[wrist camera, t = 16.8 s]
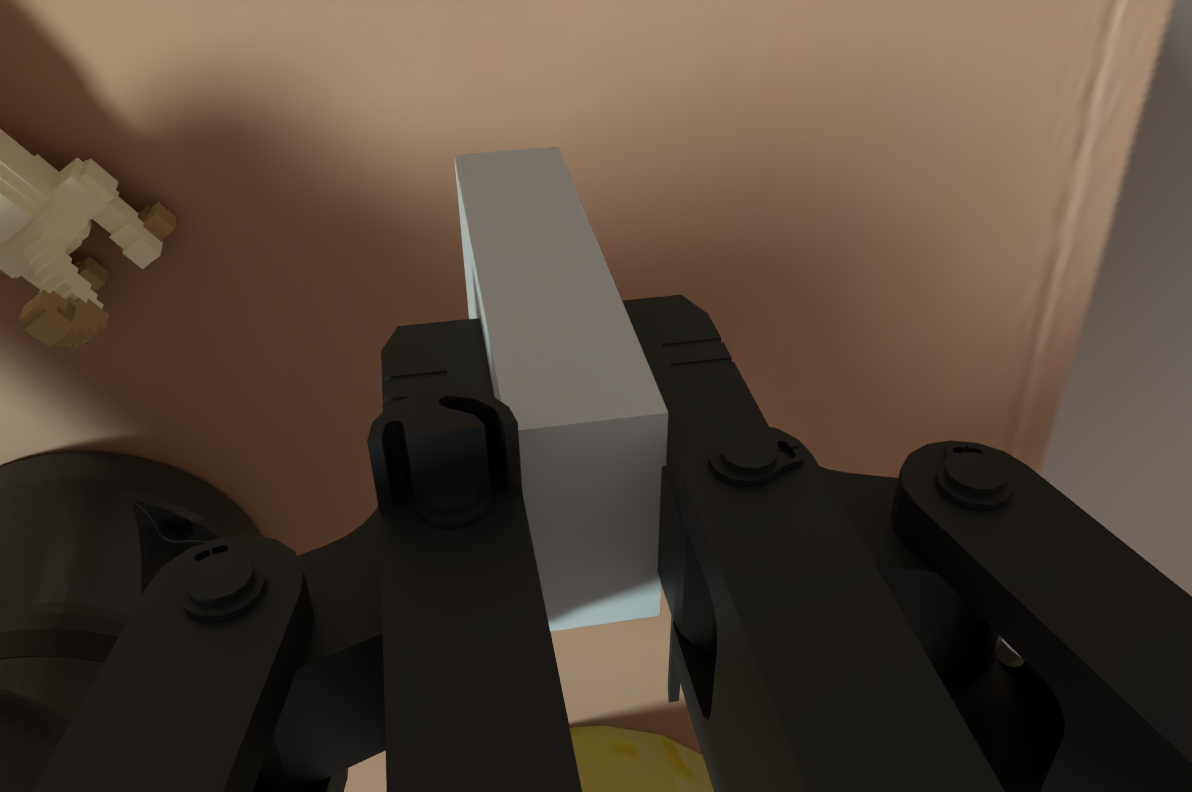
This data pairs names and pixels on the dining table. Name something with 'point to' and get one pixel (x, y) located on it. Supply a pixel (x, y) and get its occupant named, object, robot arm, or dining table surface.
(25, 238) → the cream elongated figure
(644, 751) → the cheese
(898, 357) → the dining table surface
